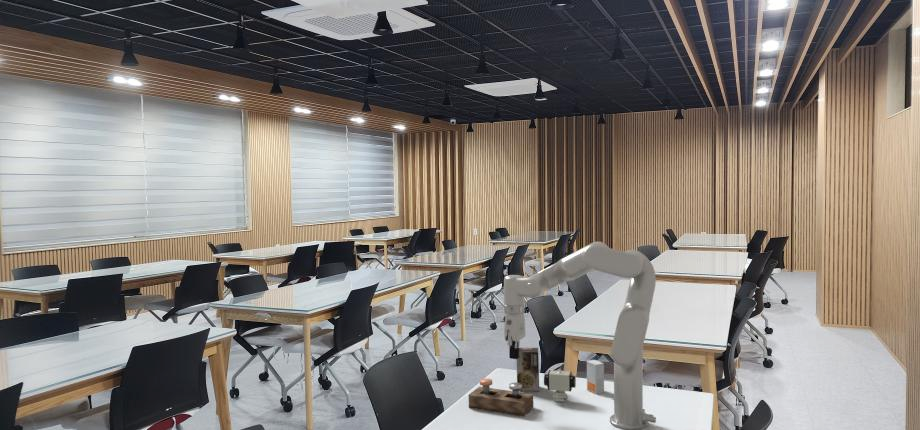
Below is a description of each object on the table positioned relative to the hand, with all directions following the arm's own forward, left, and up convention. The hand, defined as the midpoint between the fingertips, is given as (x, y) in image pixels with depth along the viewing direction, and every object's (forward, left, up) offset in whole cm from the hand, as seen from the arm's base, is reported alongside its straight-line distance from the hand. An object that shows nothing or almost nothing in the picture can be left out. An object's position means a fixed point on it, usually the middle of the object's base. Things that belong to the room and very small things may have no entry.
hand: (514, 358), depth 222 cm
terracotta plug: (+12, 0, -15) cm, 19 cm away
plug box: (+6, 0, -19) cm, 20 cm away
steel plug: (0, 0, -15) cm, 15 cm away
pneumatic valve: (-12, -16, -20) cm, 28 cm away
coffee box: (+4, -24, -20) cm, 31 cm away
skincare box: (-22, -31, -20) cm, 43 cm away
